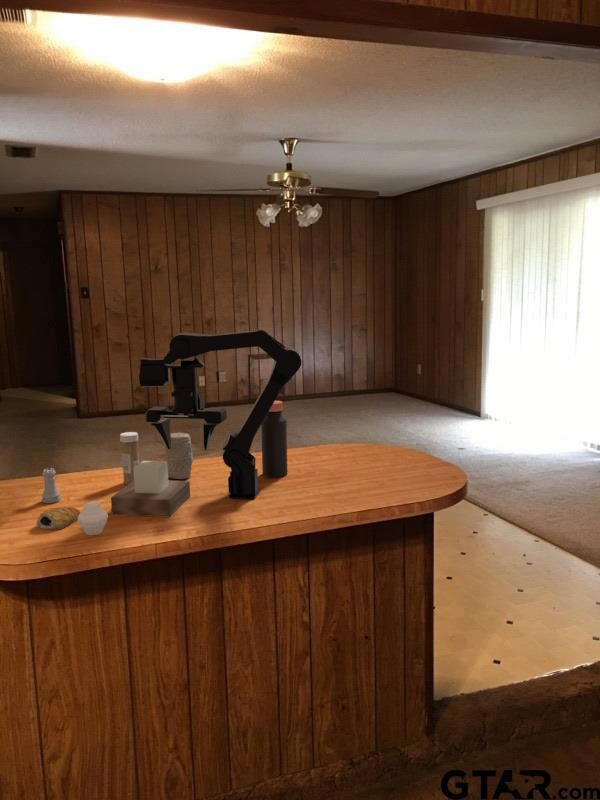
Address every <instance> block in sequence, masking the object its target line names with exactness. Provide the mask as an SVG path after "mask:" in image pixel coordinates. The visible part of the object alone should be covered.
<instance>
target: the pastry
mask: <svg viewBox="0 0 600 800" xmlns="http://www.w3.org/2000/svg"><path fill="white" fill-rule="evenodd" d="M80 513H81V511H80V510H79V509H77V508H74V507H71V506H69V507H65V506H64V507H63V506H62V507H52V508H50V509H48V510H45V511H43V512H42V513H41V512H40V513H39V516H38V517H37V520H36V525H37V526H38V527H39V528H41V529H45V530H51V531H54V530H61V529H64V527H69V526H71V525H73V524H75V523H76V522H78V516H79V514H80Z"/></svg>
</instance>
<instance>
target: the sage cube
mask: <svg viewBox="0 0 600 800" xmlns="http://www.w3.org/2000/svg"><path fill="white" fill-rule="evenodd" d="M133 470H134V485H135V493H156V494H160V493H161V492H162V491H163V490H164V489H165V488H166V487H168V486H169V484H168V480H169V477H168V465H167V462H166V461H165V460H163V461H162V460H161V461H160V460H159V461H158V460H156V461H155V460H142V461H141V462H139V464H138V465H137V466H135V467H134V468H133Z"/></svg>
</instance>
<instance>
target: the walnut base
mask: <svg viewBox="0 0 600 800" xmlns="http://www.w3.org/2000/svg"><path fill="white" fill-rule="evenodd" d="M168 484H169V486H168V487H166V488H165V489H164V490H163V491H162V492H161V493H160V494H156V493H135V485H134V481H132V482H131V483H130V484H128V485H126V486H124V487H123V488H122V489H120V490H119V491H118V492H116V493H115V494H113V495H112V496H111V497H110V503H111V514H112V515H118V516H120V515H123V516H140V517H141V516H146V517H165V518H166V517H167V518H171V517H172V516H173V515H174V514H175V513H176V512H177V511H178V510H179V509H180V508H181V507H182V506H183V505H184V504H185V503H186V502H187V501H188V499H190V498H191V486H190V485H191V483H190V480H169V479H168Z"/></svg>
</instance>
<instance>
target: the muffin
mask: <svg viewBox="0 0 600 800" xmlns="http://www.w3.org/2000/svg"><path fill="white" fill-rule="evenodd" d="M82 507H83V509H82V511H80V514H79V516H78V521H77V522H78V523H79V526H80V527H81V529H82V530H83V531H84V533H85V534H86V535H88V536H97V535H99V534H101V533H102V532H103V530H104V528H105V526H106V525H107V524H106V523H107V521H108V518H109V516H108V515H109V514H108V512H107V511H106V510H104V508H103V507H102V506H101V503H100V502H98V501H88V502H86V503H85V504H84V505H83V506H82Z"/></svg>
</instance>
